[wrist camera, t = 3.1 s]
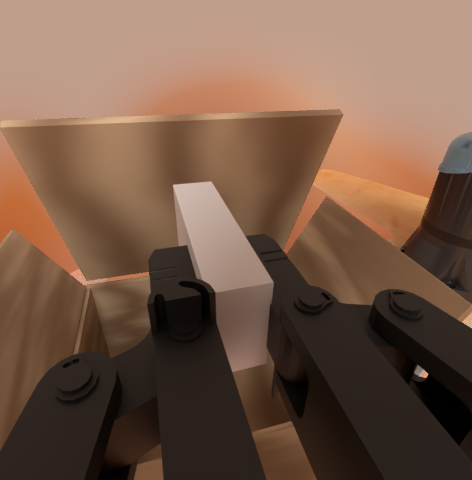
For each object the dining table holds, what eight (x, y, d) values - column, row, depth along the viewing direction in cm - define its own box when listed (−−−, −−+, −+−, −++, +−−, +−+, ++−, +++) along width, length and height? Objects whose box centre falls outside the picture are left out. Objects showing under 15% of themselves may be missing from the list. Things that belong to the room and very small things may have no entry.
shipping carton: (305, 324, 43) (328, 193, 33) (478, 601, 21) (691, 460, 11) (69, 374, 36) (9, 226, 26) (-31, 859, 14) (-597, 1058, 4)
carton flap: (282, 252, 35) (280, 247, 36) (343, 114, 21) (338, 108, 22) (86, 280, 30) (86, 274, 31) (-1, 127, 16) (1, 119, 17)
